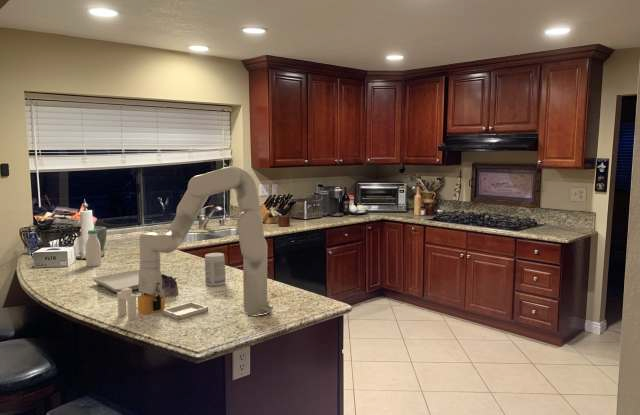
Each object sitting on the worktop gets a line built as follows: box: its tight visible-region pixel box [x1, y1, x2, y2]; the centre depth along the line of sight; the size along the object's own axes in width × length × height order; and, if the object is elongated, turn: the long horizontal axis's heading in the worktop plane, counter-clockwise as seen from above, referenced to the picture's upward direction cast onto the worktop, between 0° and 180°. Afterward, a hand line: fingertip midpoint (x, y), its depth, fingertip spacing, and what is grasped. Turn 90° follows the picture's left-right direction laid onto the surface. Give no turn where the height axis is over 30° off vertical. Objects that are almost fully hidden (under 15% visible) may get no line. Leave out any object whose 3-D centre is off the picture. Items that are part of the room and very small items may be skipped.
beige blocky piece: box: [116, 288, 138, 321], centre depth 186 cm, size 8×3×11 cm, turn 51°
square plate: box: [91, 269, 140, 293], centre depth 237 cm, size 27×27×4 cm
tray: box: [161, 301, 209, 321], centre depth 192 cm, size 11×14×2 cm
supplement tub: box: [204, 252, 226, 287], centre depth 238 cm, size 10×10×15 cm
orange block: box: [137, 292, 166, 316], centre depth 194 cm, size 4×9×6 cm, turn 141°
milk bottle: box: [85, 229, 102, 268], centre depth 275 cm, size 8×8×20 cm
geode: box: [161, 273, 179, 298], centre depth 221 cm, size 20×12×10 cm, turn 46°
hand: (151, 307), depth 194 cm, fingers open, 7 cm apart
